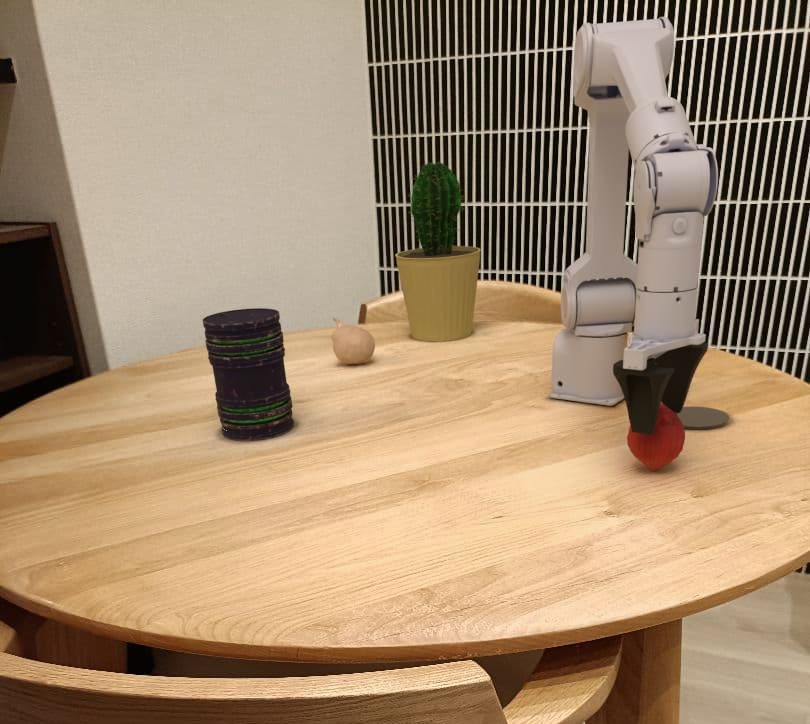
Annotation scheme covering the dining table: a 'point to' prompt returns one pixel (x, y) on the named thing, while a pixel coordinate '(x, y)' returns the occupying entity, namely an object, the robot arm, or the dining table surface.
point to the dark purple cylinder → (249, 373)
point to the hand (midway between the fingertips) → (657, 421)
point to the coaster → (702, 418)
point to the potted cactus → (438, 261)
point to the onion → (659, 441)
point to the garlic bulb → (352, 343)
